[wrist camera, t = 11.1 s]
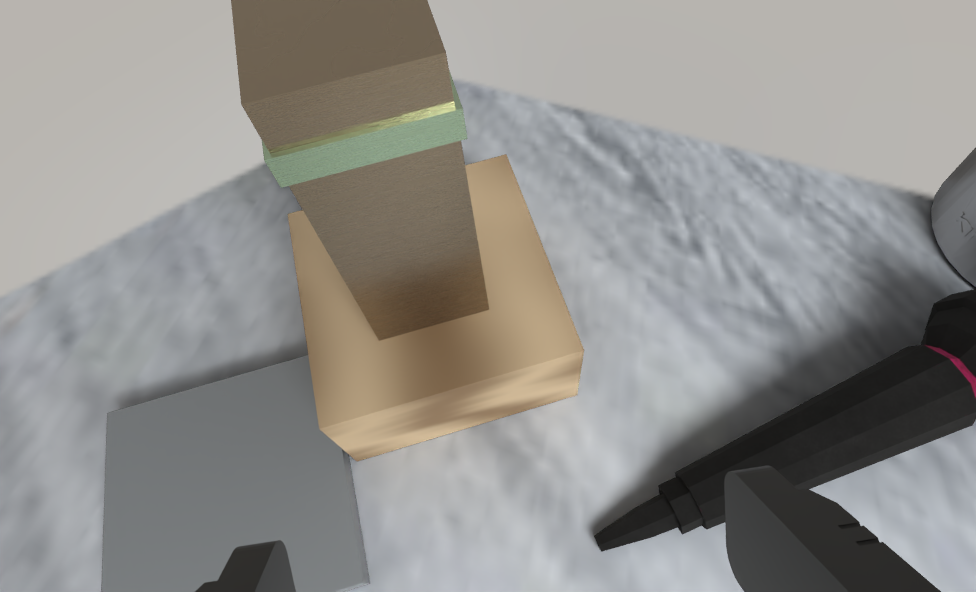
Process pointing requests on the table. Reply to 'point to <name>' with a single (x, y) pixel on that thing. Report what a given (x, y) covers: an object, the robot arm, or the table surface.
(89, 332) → the table surface
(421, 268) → the column
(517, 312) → the rest block
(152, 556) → the coaster
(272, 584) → the robot arm
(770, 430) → the microphone
